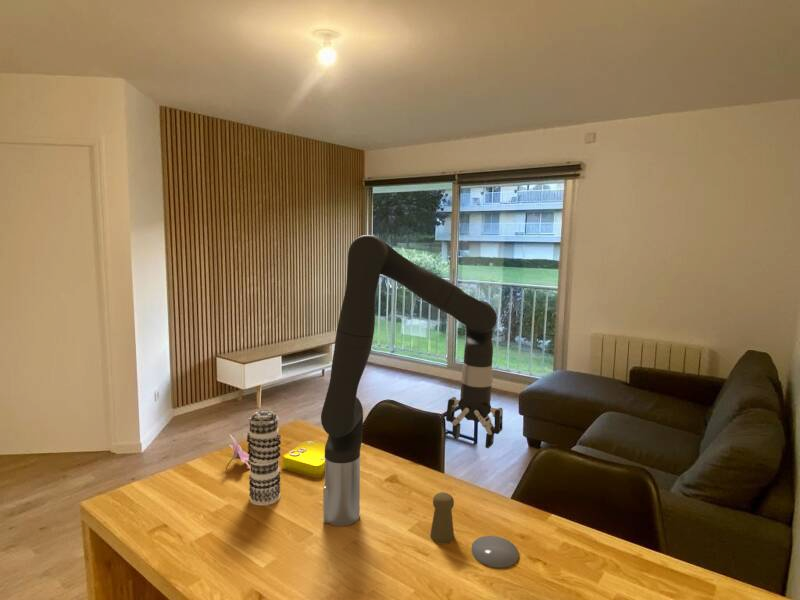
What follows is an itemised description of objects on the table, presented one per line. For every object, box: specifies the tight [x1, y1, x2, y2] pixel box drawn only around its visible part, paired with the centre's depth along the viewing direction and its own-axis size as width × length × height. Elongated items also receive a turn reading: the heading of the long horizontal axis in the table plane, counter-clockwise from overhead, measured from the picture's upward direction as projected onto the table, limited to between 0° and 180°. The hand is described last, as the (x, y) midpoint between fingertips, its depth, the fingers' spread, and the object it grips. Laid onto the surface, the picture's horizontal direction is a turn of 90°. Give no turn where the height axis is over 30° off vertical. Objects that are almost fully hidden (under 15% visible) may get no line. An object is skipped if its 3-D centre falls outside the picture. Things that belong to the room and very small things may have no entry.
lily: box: [225, 434, 251, 469], centre depth 153 cm, size 12×12×10 cm
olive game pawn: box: [429, 491, 455, 545], centre depth 119 cm, size 6×6×11 cm
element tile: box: [282, 439, 326, 479], centre depth 157 cm, size 15×15×5 cm
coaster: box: [471, 535, 519, 569], centre depth 114 cm, size 11×11×1 cm
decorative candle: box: [246, 409, 282, 507], centre depth 134 cm, size 9×9×25 cm
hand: (472, 442), depth 121 cm, fingers open, 8 cm apart
